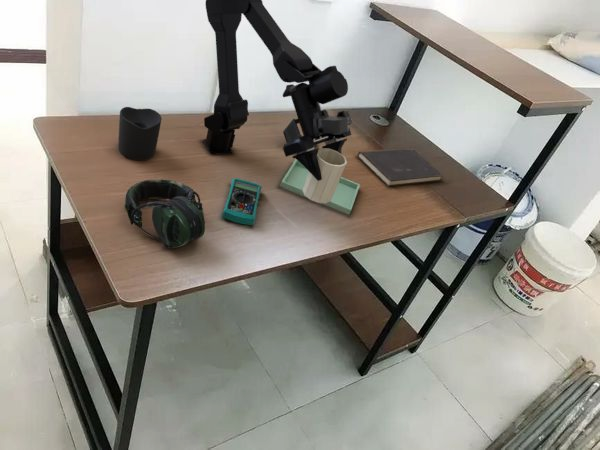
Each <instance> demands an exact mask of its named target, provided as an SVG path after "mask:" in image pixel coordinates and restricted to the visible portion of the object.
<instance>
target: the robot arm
mask: <svg viewBox="0 0 600 450" xmlns="http://www.w3.org/2000/svg"><path fill="white" fill-rule="evenodd" d="M205 10H206V17H207V21H208V24H209V25H210V27H211V28H212V30H213V31H214V35H215V50H216V61H217V62H216V64H217V77H218V78H217V79H218V95H217V97H216V100H215V101H214V105H213V113H212V114H210V115H208V116H206V117H204V118H203V122H204V127H205V128H206V129H207V132H206V136H205V139H202V143H203V144H204V146H205V148H206V149H207V150H208V152H209V154H210V155H223V154H224V155H225V154H228V155H229V154H231V155H232V154H233V152H234V150H232V149H233V147H234V146H233V145H234V142H235V138H236V134H235V133H236V130H240V128H241V127H243V126H244V125H245V123H247V122H248V116H250V113H249V101H248V99H244V98H243V96H242V95H241V93H240V87H239V86H240V85H239V84H240V83H239V68H238V67H239V65H238V64H239V63H238V46H237V31H238V29H239V26H240V24H241V23H242V16H244V17H245V19H246V20H247V22H248V23H249V24H250V25H251V27H252V28H253V30H254V31H255V33H256V34H257V36H258V37H259V38H260V40H261V41H262V43H263V44H264V46H265V47H266V49H268V51H269V52H270V55H271V56H272V65H273V67H274V69H275V72H276V73H277V76H278V77H279V78H280V80H281V81H282V82H284V83H289V84H287V85H285V90H284V91H283V93H282V97H283V98H287V97H290V98H291V101H292V104H293V107H294V111H295V114H296V117H297V118H294V119H295V123H296V124H297V125H298V124H299V126H300V129H301V132H302V137H300V139H297V140H294V141H292V142H289V143H287V142H286V143H284V145H283V148H282V149H283V153H284V156H285V158H287V157H290V156H291V157H292V159H297V160H298V161H299V162H300V163H301V164H302V165H303V166H304V167H305V168H306V169H307V170H308V171H309V172H310V173H311V174H312V175H313V176H314V177H315V178H316V179H317V180H318V181H319V180H322V176H321V171H320V167H319V164H318V160H317V154H318V150H319V149H320V148H319V147H317V148H315V147H314V145H316V146H317V145H319V144H322V143H324V145H322V146H321V148H329V149H332V150H335V151H337V152H339V153H340V154H342V148H343V146H344V144H345V143H346V142H347V141H348V138H347V137H351V136H352V131H351V128H350V127H349V126H350V125H351V124H352V123H353V120H352V117H351V114H350V113H349V110H340V111H338V112H337V115H336V114H335V115H329V112H328V110H327V109H322V106H321V105H325V104H328V103H331V102H333V101H335V100H339V99H340V98H344V97H345V96H346V95H347V94H348V91H349V84H348V80H347V78H346V77H345V76H344V75H343V73H342V72H341V71H339V70H338V69H337V65H329V66H327V67H326V68H324V69H323V70H321V69H320V68H319V67H318V66H317V65H315V64H314V63H313V61H312V59H311V57H310V56H309V55H308V54H307V53H306V52H305V51H304V50H303V49H302V48H301V47H300V46H298V45H296V44H294V43H292V42H291V41H290V40H289V39H288V37H287V35H285V33H284V32H283V30H282V29H281V27H280V26H279V25H278V23H277V22H276V20H275V18H273V16H272V15H271V14H270V12H269V11H268V9H267V8H266V7H265V5H264V3H263V0H205ZM306 82H308V83H306ZM290 83H291V84H290ZM294 83H296V84H295V85H294Z"/></svg>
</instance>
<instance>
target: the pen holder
mask: <svg viewBox="0 0 600 450" xmlns="http://www.w3.org/2000/svg"><path fill="white" fill-rule="evenodd" d="M162 120H163V119H162V116H161V114H160V113H159V112H158V111H156V110H154V109H152V108H134V107H131V106H124V107H122V108H121V109H120V111H119V120H118V121H119V122H118V143H117V144H118V151H119V152H120V154H121V155H122V156H124V157H125V158H127V159H130V160H133V161H146V160H147V161H148V160H150V159H152V158H153V157H154V156H155V154H156V150H157V145H158V141H159V136H160V131H161V124H162Z"/></svg>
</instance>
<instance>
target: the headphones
mask: <svg viewBox="0 0 600 450" xmlns="http://www.w3.org/2000/svg"><path fill="white" fill-rule="evenodd" d="M196 198H197V200H196ZM147 200H156V201H149V202H147V203H144V204H141V205H139V204H140V203H141V202H143V201H147ZM157 200H168V201H157ZM124 201H125V202H124V209H125V211H126V214H127V217H128V221H130V222H129V223H130V225H135V226H136V227H137V228H139V229H140V230H141V231H142V232H143V233H144V234H146V235H147V236H149V237H150V238H153V239H155V240H158V241H159V242H162V243H163V244H164V245H165V246H166V247H167V248H168V249H175V248H180V247H183V246H185V245H186V244H188V243H189V242H191V241H193V240H198V239H201V238H203V236H204V234H205V232H206V231H205V230H206V219H205V215H204V208H203V203H202V202H201V198H200V195H199V193H197V192H196V191H195V190H194V189H193V188H191V187H190V186H189V185H186V184H184V183H181V182H179V181H175V180H172V179H164V178H159V179H158V178H157V179H156V178H155V179H146V180H142V181H140V182H139V181H138V182H136V183H134V185H132V186H130V187H129V189H127V191H126V193H125V198H124ZM138 205H139V206H138ZM149 207H153V208H152V211H151V221H152V224H153V227H154V228H153V229H154V230H155V232H156V234H157V236H158V237H159V238H158V237H156V236H154V235H152V234H151V233H149V232H147V231H146V230H145V229H144V228H143V222H142V221H143V217H142V216H143V212H142V210H143V209H145V208H149Z"/></svg>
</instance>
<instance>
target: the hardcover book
mask: <svg viewBox="0 0 600 450" xmlns="http://www.w3.org/2000/svg"><path fill="white" fill-rule="evenodd" d="M357 158H358V159H359V160H360V162H362V163H363V164H364V165H365V166H366V168H368V169H369V170H370V171H371V172H372V173H373V174H374V175H375V176H376V177H377V179H379V180H380V181H381V182H382V183H383V184H384V185H385V186H387V187H388V188H391V187H399V186H409V185H418V184H426V183H437V182H441V181H442V180H441V178H442V177H444V174H442V173H441V172H440V171H439V170H438V169H437V168H436V167H434V166H433V165H432V163H430V162H429V161H428V160H426V159H425V157H423V156H422V155H421V154H419V153H418V152H417V151H416V150H415V149H414V148H397V149H394V148H393V149H380V150H361V151H358V153H357Z"/></svg>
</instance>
